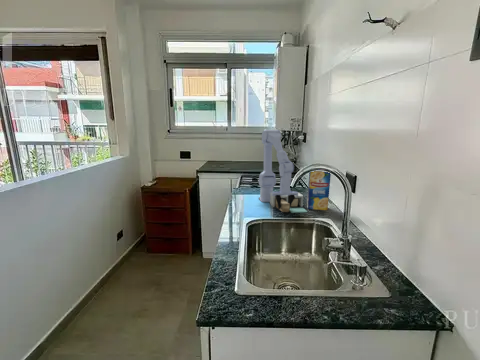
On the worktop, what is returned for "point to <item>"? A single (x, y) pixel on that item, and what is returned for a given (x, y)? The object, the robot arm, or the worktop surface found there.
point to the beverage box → (318, 190)
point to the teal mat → (297, 210)
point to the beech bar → (283, 206)
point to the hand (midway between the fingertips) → (284, 208)
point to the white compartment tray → (295, 202)
